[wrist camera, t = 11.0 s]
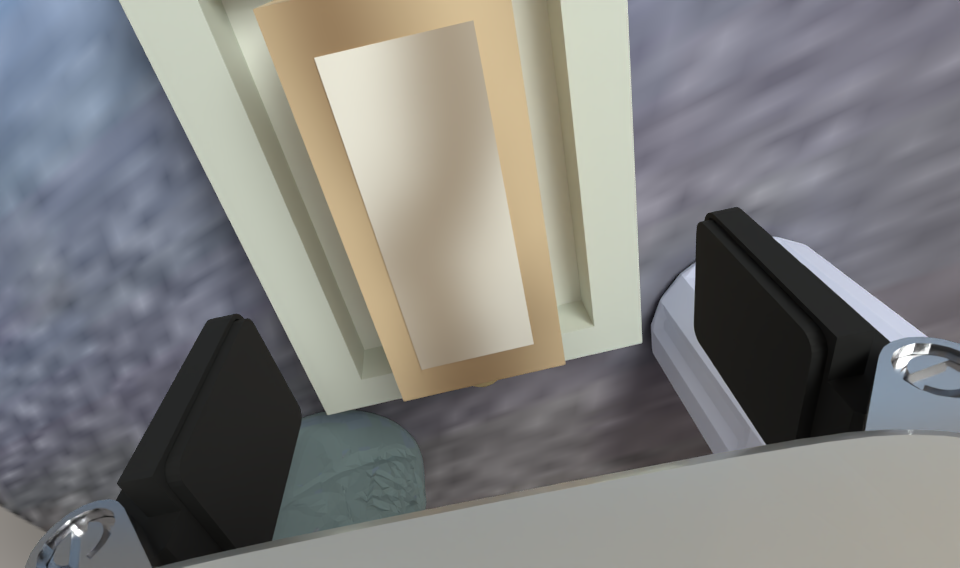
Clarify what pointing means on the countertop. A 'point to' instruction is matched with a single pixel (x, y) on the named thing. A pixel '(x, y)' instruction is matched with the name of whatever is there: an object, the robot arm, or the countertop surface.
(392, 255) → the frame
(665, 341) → the soap bottle
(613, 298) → the cream rectangular tray
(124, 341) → the countertop surface
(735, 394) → the robot arm
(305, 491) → the teal embossed pot
